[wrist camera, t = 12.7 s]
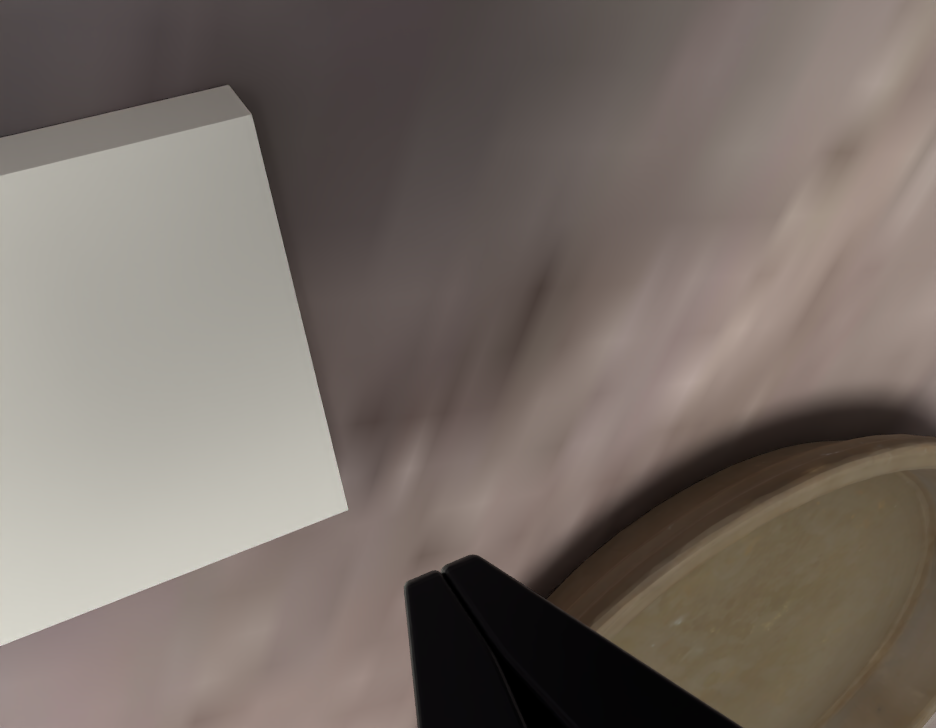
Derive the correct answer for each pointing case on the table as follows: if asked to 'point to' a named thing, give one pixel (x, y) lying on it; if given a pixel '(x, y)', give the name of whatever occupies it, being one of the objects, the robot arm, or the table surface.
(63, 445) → the bench slab
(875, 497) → the plant saucer
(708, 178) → the table surface
